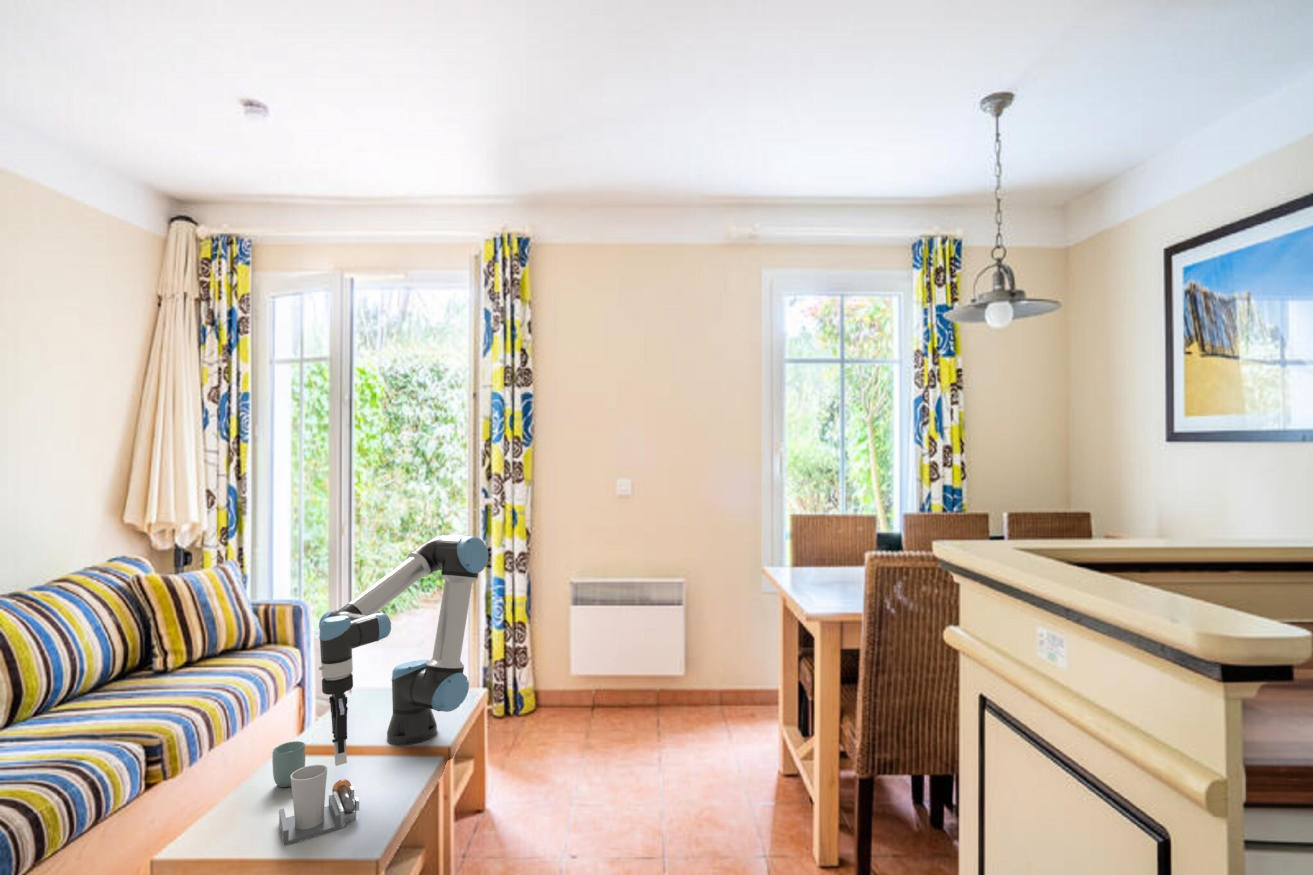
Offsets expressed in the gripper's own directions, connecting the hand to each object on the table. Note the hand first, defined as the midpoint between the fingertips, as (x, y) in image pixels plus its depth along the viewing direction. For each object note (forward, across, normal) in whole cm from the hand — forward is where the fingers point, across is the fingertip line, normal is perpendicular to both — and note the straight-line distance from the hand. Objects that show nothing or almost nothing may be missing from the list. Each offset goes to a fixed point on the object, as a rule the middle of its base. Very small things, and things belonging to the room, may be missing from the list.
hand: (340, 763), depth 178 cm
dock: (+7, +14, -9) cm, 18 cm away
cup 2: (+6, +14, -9) cm, 18 cm away
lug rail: (+7, +14, -1) cm, 16 cm away
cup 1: (+8, -14, -11) cm, 19 cm away
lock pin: (+6, +12, -1) cm, 14 cm away
